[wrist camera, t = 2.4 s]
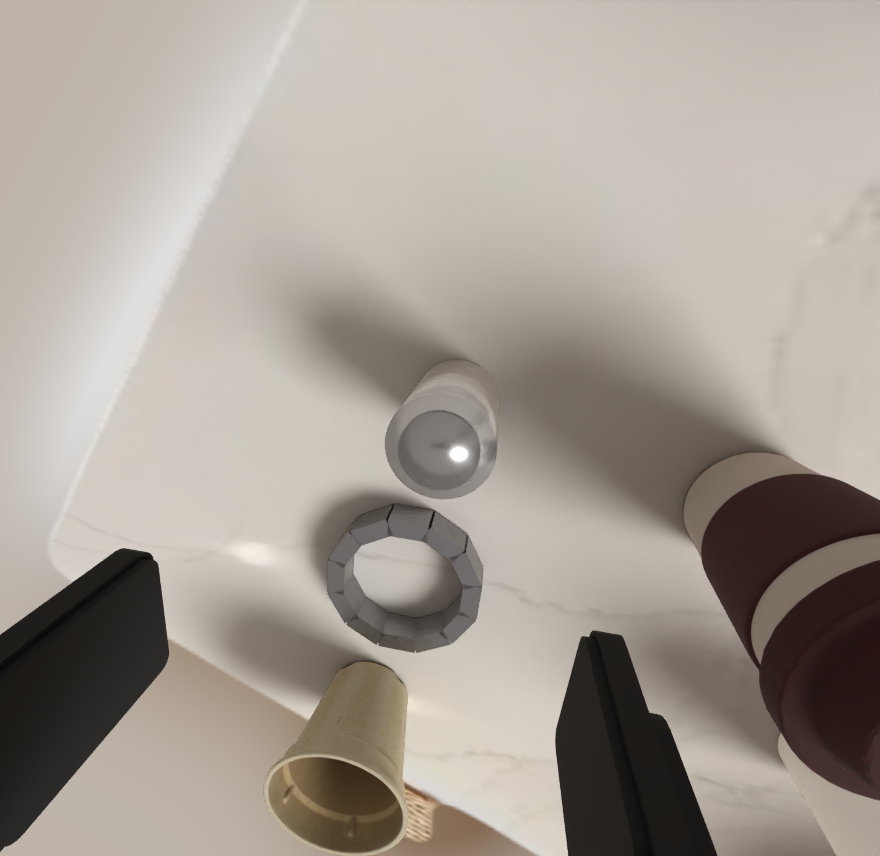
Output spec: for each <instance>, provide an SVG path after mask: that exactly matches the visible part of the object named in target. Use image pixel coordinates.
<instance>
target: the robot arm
mask: <svg viewBox="0 0 880 856" xmlns="http://www.w3.org/2000/svg"><path fill="white" fill-rule="evenodd" d="M168 656H169V648H168V640H167V632H166V623H165V615H164V607H163V599H162V591H161V583H160V575H159V567H158V563H157V562H156V561H154V559H153V556H152V555H151V554H150V553H148V552H143V551H137V550H131V549H125V548H123V549H119V550H117V551H115V552H114V553H113V554H111V555H110V556H108V557H107V558H106V559H104V560H103V561H102V562H100V563H99V564H97V565H96V566H95V567H93V568H92V569H91V570H89V571H88V572H86V573H85V574H84V575H82V576H81V577H79V578H78V579H77V580H75V581H74V582H73V583H71V584H70V585H69V586H67V587H66V588H64V589H63V590H62V591H60V592H59V593H57V594H56V595H55V596H53V597H52V598H50V599H49V600H48V601H47V602H45V603H44V604H42V605H41V606H39V607H38V608H37V609H35V610H34V611H33V612H31V613H30V614H28V615H27V616H26V617H24V618H23V619H22V620H20V621H19V622H17V623H16V624H15V625H13V626H12V627H10V628H9V629H8V630H6V631H5V632H4V633H2V634H1V635H0V852H1V850H2V849H3V848H4V847H5V846H9V845H11V844H13V843H14V842H15V841H17V840H18V839H19V838H20V837H21V836H22V835H23V834H24V833H25V832H26V830H27V829H28V828H29V827H30V826H31V824H32V823H33V822H34V821H35V820H36V818H37V817H38V816H39V815H40V814H41V813H42V811H43V810H44V809H45V808H46V807H47V806H48V804H49V803H50V802H51V801H52V800H53V798H54V797H55V796H56V795H57V794H58V792H59V791H60V790H61V789H62V788H63V787H64V786H65V784H66V783H67V782H68V781H69V780H70V779H71V777H72V776H73V775H74V774H75V772H76V771H77V770H78V769H79V768H80V767H81V766H82V764H83V763H84V762H85V761H86V760H87V758H88V757H89V756H90V755H91V754H92V753H93V751H94V750H95V749H96V748H97V747H98V745H99V744H100V743H101V742H102V741H103V740H104V738H105V737H106V736H107V735H108V734H109V733H110V731H111V730H112V729H113V728H114V727H115V725H116V724H117V723H118V722H119V720H121V718H122V717H123V716H124V715H125V714H126V713H127V711H128V710H129V709H130V708H131V707H132V705H133V704H134V703H135V702H136V701H137V700H138V698H139V697H140V696H141V695H142V694H143V693H144V691H145V690H146V689H147V688H148V687H149V685H150V684H151V683H152V682H153V681H154V679H155V678H156V677H157V676H158V675H159V674H160V672H161V671H162V670H163V669H164V667H165V665H166V663H167V660H168ZM555 745H556V755H557V764H558V772H559V781H560V789H561V798H562V806H563V815H564V823H565V831H566V840H567V848H568V856H717V853H716V850H715V848H714V845H713V842H712V840H711V837H710V834H709V832H708V829H707V826H706V824H705V821H704V818H703V816H702V813H701V810H700V808H699V805H698V802H697V800H696V797H695V794H694V792H693V789H692V786H691V784H690V781H689V778H688V776H687V773H686V770H685V768H684V765H683V762H682V759H681V757H680V754H679V751H678V749H677V746H676V743H675V741H674V738H673V735H672V733H671V730H670V728H669V726H668V724H667V722H666V720H665V719H664V718H663V717H662V716H661V715H658V714H653V713H649V711H648V708H647V705H646V702H645V699H644V696H643V693H642V690H641V687H640V685H639V682H638V679H637V676H636V673H635V670H634V667H633V664H632V661H631V658H630V655H629V652H628V649H627V646H626V643H625V641H624V639H623V637H622V636H621V635H617V634H611V633H605V632H600V631H592V632H591V634H590V636H589V637H585V636H582V637H581V639H580V642H579V646H578V650H577V653H576V657H575V661H574V665H573V668H572V672H571V676H570V679H569V683H568V687H567V691H566V694H565V698H564V702H563V705H562V709H561V713H560V717H559V720H558V724H557V728H556V738H555Z"/></svg>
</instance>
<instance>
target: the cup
mask: <svg viewBox="0 0 880 856" xmlns="http://www.w3.org/2000/svg"><path fill="white" fill-rule="evenodd" d="M778 751H779V754H780V757H781V759H782V761H783V762H784V764H785V766H786V768H787V770H788V771H789V773H790V775H791V777H792V778H793V780H794V782H795V784H796V785H797V787H798V789H799V791H800V792H801V794H802V796H803V798H804V800H805V801H806V803H807V805H808V807H809V808H810V810H811V812H812V814H813V815H814V817H815V819H816V821H817V822H818V824H819V826H820V828H821V830H822V831H823V833H824V835H825V837H826V838H827V840H828V842H829V844H830V845H831V847H832V849H833V851H834V853H835V854H836V856H880V801H879V800H874V799H871V798H868V797H864V796H861V795H858V794H854V793H852V792H849V791H847V790H844V789H842V788H840V787H838V786H836V785H834V784H832V783H830V782H828V781H827V780H825V779H824V778H822V777H821V776H819V775H818V774H816V773H815V772H813V771H812V770H810V769H809V768H808V767H807V766H806V765H805V764H804V763H803V762H802V761H801V760H800V759H799V758H798V757H797V756H796V755H795V754H794V752H793V751H792V750H791V749H790V747H789V745H788V744H787V742H786V740H785V739H784V737H783V735H782V734H781V733H780V735H779V738H778Z"/></svg>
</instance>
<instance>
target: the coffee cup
mask: <svg viewBox="0 0 880 856" xmlns="http://www.w3.org/2000/svg"><path fill="white" fill-rule="evenodd" d="M683 516H684V522H685V527H686V529H687V532H688V534H689V536H690V538H691V540H692V541H693V543H694V545H695V547H696V549H697V550H698V552H699V554H700V556H701V558H702V564H703V567H704V570H705V573H706V575H707V577H708V579H709V581H710V583H711V585H712V587H713V589H714V590H715V592H716V594H717V596H718V598H719V600H720V602H721V604H722V605H723V607H724V609H725V611H726V613H727V615H728V617H729V619H730V620H731V622H732V624H733V626H734V628H735V630H736V632H737V634H738V635H739V637H740V639H741V641H742V643H743V645H744V647H745V649H746V650H747V652H748V654H749V656H750V658H751V659H752V661H753V662H754V664H755V665H756V667H757V668H758V669H759V683H760V689H761V693H762V696H763V699H764V702H765V705H766V708H767V710H768V712H769V713H770V715H771V717H772V718H773V720H774V722H775V723H776V725H777V727H778V728H779V730H780V732H781V734H782V735H783V737H784V739H785V740H786V742H787V744H788V745H789V747H790V749H791V750H792V751H793V752H794V754H795V755H796V756H797V757H798V758H799V759H800V760H801V761H802V762H803V763H804V764H805V765H806V766H807V767H808V768H809V769H810V770H812V771H813V772H815V773H816V774H818V775H819V776H821V777H822V778H824V779H825V780H827V781H828V782H830V783H832V784H834V785H836V786H838V787H840V788H842V789H844V790H847V791H849V792H852V793H854V794H858V795H861V796H864V797H868V798H871V799H874V800H879V801H880V500H878V499H876V498H874V497H872V496H870V495H868V494H866V493H865V492H863V491H861V490H859V489H857V488H855V487H853V486H851V485H849V484H847V483H845V482H842V481H840V480H837V479H834V478H831V477H827V476H823V475H820V474H818V473H816V472H814V471H813V470H811V469H809V468H807V467H805V466H803V465H801V464H799V463H797V462H796V461H794V460H792V459H789V458H787V457H784V456H781V455H777V454H771V453H766V452H751V453H745V454H739V455H735V456H732V457H729V458H726V459H724V460H722V461H720V462H718V463H716V464H714V465H713V466H711V467H710V468H708V469H707V470H706V471H705V472H703V473H702V474H701V475H700V476H699V477H698V478H697V480H696V481H695V482H694V483H693V485H692V487H691V488H690V490H689V492H688V494H687V497H686V500H685V503H684V515H683Z"/></svg>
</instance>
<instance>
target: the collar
mask: <svg viewBox="0 0 880 856" xmlns="http://www.w3.org/2000/svg"><path fill="white" fill-rule="evenodd" d="M466 535H467V533H465V532H464V531H463V530H461V529H460V528H458V527H457V526H456V525H454V524H453V523H452V522H450V521H449V520H447V519H446V518H445V517H443V516H442V515H440V514H439V513H438V512H435V513H434V514H433V510H429V509H423V508H417V507H410V506H404V505H398V504H395V506H394V505H393V504H392V505H389V506H386V507H383V508H380V509H377V510H375V511H372V512H369V513H366V514H363V515H360V516H359V517H357V519H356V520H355V521H354V522H353V524H352V525H351V526H350V528H349V529H348V530H347V531H346V533H345V534H344V535H343V537H342V538H341V539H340V540H339V542H338V543H337V545H336V547H335V548H334V550H333V552H332V553H331V555H330V556H329V559H328V569H327V592H328V595H329V597H330V599H331V601H332V602H333V604H334V606H335V607H336V609H337V611H338V612H339V614H340V616H341V618H342V619H343V621H344V623H346V622H347V624H346V625H348V626H349V627H351V628H352V629H353V630H355V631H356V632H358V633H359V634H361V635H362V636H364V637H365V638H367V639H368V640H370V641H371V642H373V643H374V644H376V645H377V644H378V642H379V646H382V647H387V648H392V649H398V650H403V651H408V652H413V653H415V650H416V652H417V653H418V652H422V651H426V650H430V649H434V648H438V647H442V646H447V645H451V643H454V642H455V641H456V640H457V639H458V638H459V637H460V636H461V635H462V634H463V633H464V632H465V631H466V630H467V629H468V628H469V627H470V626H471V625H472V624H473V623H474V622H475V621H476V619H477V614H478V608H479V602H480V596H481V590H482V580H483V565H482V563H481V561H480V559H479V557H478V555H477V553H476V550H475V548H474V546H473V544H472V542H471V540H470V538H469V536H466ZM389 536H393V537H399V538H404V539H410V540H416V541H422V542H424V543H426V544H427V545H429V546H430V547H432V548H433V549H434V550H436V551H437V552H439V553H440V554H441V555H443V556H444V557H446V558H447V559H448V560H450V561H451V563H452V565H453V567H454V569H455V572H456V574H457V576H458V578H459V580H460V582H461V584H462V586H463V589H462V594H461V595H460V596H459V597H458V598H457V599H456V600H455V601H454V602H453V603H452V604H451V605H450V606H449V607H448V608H447V609H446V610H445V611H444V612H440V613H436V614H432V615H429V616H425V617H421V618H413V617H408V616H403V615H397V614H392V613H389V612H387V611H386V610H384V609H383V608H381V607H380V606H379V605H377V604H376V603H374V602H373V601H371V600H370V599H368V598H367V597H366V596H365V594H364V592H363V591H362V589H361V587H360V585H359V583H358V582H357V580H356V578H355V576H354V575H353V564H354V554H355V553H356V552H357V551H358V549H359V548H360V547H361V546H362V545H364V544H368V543H371V542H374V541H377V540H380V539H383V538H386V537H389Z"/></svg>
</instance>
